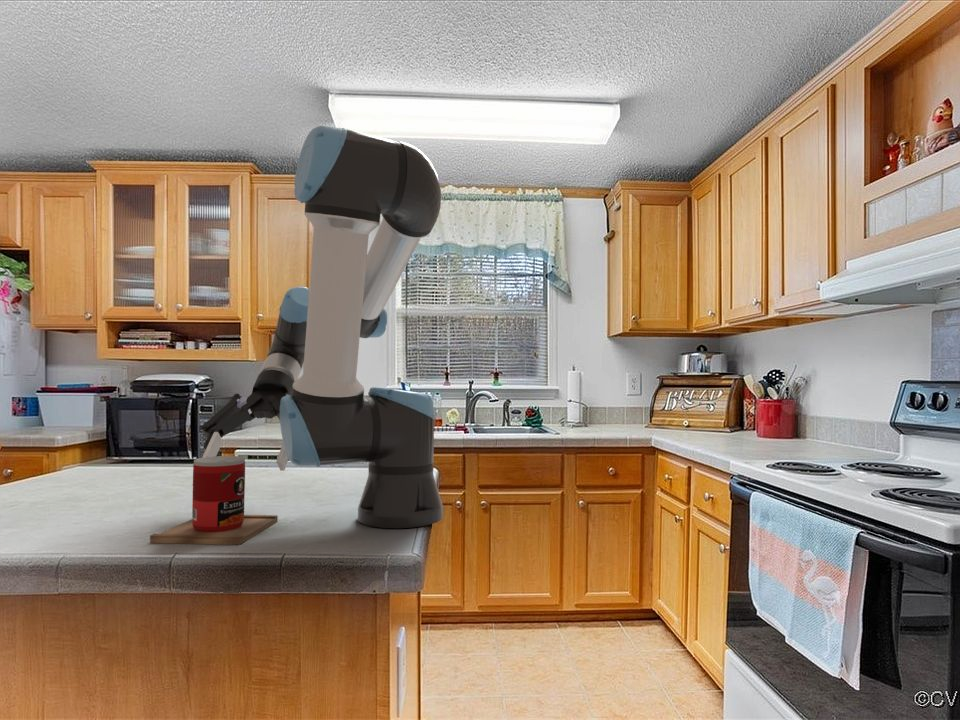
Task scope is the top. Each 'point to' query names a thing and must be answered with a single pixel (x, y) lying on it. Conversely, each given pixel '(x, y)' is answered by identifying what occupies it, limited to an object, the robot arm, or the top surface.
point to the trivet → (235, 536)
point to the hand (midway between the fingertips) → (242, 465)
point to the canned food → (218, 493)
